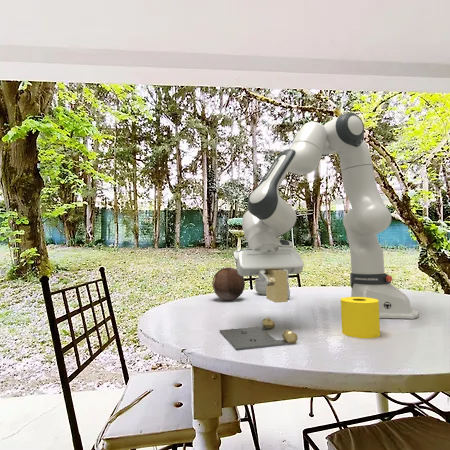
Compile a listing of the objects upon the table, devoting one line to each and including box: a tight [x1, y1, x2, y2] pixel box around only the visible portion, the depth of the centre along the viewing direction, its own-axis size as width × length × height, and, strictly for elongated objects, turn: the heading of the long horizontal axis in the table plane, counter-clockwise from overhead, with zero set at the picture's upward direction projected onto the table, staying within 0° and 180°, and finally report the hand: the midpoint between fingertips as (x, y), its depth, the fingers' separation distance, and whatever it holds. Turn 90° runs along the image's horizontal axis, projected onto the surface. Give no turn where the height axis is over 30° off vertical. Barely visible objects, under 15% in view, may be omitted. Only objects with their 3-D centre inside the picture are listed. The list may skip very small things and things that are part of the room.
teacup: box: [254, 277, 266, 296], centre depth 167 cm, size 14×11×8 cm
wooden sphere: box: [211, 266, 246, 301], centre depth 154 cm, size 15×15×15 cm
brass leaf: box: [265, 269, 288, 304], centre depth 95 cm, size 7×4×8 cm, turn 15°
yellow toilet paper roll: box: [340, 296, 381, 339], centre depth 95 cm, size 10×10×9 cm
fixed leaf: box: [219, 317, 299, 351], centre depth 93 cm, size 18×16×3 cm
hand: (277, 284), depth 95 cm, fingers closed on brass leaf, 3 cm apart
